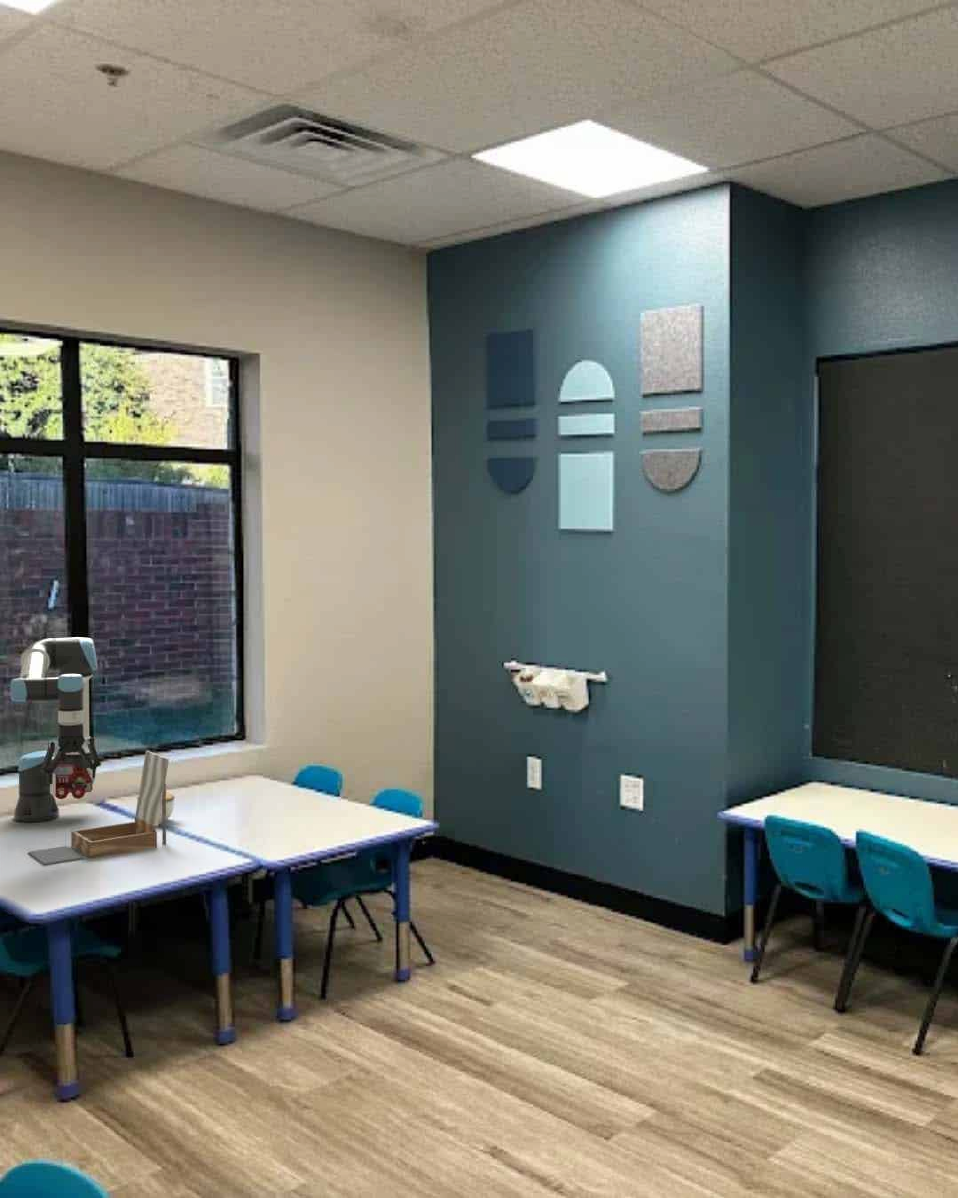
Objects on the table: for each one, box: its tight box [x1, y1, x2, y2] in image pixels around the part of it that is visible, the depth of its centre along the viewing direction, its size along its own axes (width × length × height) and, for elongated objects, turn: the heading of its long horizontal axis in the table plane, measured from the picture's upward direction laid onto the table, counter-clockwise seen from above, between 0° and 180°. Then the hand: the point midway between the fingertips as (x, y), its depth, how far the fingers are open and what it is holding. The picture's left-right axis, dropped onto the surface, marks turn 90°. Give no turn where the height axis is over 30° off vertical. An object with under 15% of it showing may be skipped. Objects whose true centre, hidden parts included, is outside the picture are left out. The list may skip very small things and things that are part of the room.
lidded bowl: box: [136, 792, 175, 825], centre depth 410 cm, size 13×13×11 cm
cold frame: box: [70, 750, 170, 859], centre depth 378 cm, size 17×26×29 cm, turn 129°
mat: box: [27, 845, 84, 866], centre depth 365 cm, size 16×12×1 cm
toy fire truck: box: [53, 764, 93, 800], centre depth 367 cm, size 7×12×10 cm, turn 101°
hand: (71, 791), depth 367 cm, fingers closed on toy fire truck, 11 cm apart
